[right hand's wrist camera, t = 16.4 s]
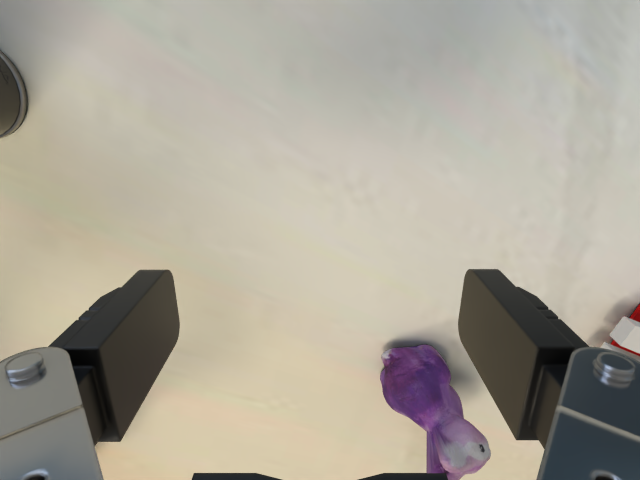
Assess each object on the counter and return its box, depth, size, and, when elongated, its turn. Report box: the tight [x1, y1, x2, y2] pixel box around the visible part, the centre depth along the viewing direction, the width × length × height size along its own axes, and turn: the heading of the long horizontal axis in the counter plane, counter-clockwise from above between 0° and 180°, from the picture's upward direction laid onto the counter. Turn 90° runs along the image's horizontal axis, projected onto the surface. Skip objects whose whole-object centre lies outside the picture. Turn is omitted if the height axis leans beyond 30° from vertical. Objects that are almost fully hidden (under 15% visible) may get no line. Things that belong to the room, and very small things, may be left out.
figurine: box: [380, 344, 491, 480], centre depth 43 cm, size 9×10×15 cm
